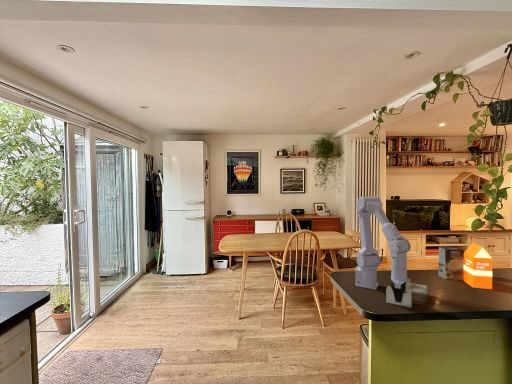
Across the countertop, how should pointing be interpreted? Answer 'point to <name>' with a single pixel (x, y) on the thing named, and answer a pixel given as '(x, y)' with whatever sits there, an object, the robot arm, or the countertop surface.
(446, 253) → the coffee box
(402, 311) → the countertop surface
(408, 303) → the housing
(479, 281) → the orange juice
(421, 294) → the stand
